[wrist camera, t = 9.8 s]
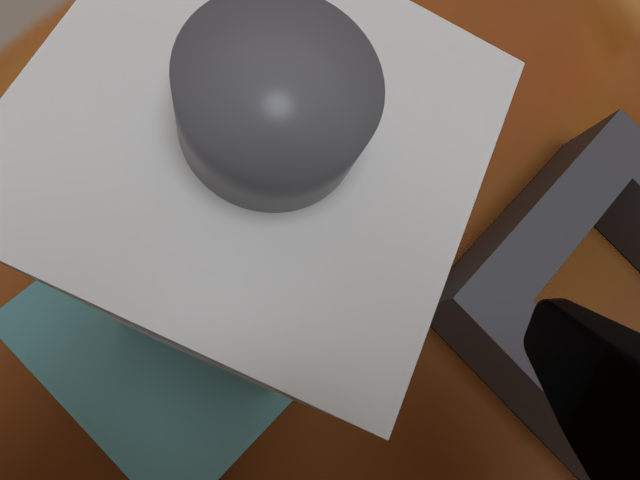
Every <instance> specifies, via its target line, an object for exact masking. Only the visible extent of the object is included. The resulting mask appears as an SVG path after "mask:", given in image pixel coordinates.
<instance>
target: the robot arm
mask: <svg viewBox="0 0 640 480" xmlns="http://www.w3.org/2000/svg"><path fill="white" fill-rule="evenodd" d="M523 343H524V349H525V352H526V355H527V357H528V359H529V361H530V363H531V365H532V368H533V370H534V372H535V374H536V376H537V378H538V380H539V383H540V385H541V387H542V389H543V391H544V393H545V396H546V398H547V400H548V402H549V404H550V406H551V408H552V411H553V413H554V415H555V417H556V419H557V421H558V423H559V425H560V427H561V429H562V431H563V433H564V435H565V437H566V439H567V441H568V442H569V444H570V446H571V448H572V449H573V451H574V453H575V455H576V456H577V458H578V460H579V461H580V463H581V465H582V467H583V468H584V470H585V472H586V473H587V475H588V477H589V479H590V480H640V333H639V332H637V331H634V330H632V329H630V328H628V327H626V326H624V325H621V324H619V323H617V322H615V321H613V320H611V319H608V318H606V317H604V316H602V315H600V314H598V313H595V312H593V311H591V310H589V309H587V308H585V307H582V306H580V305H578V304H576V303H574V302H572V301H570V300H567V299H563V298H554V299H543V300H541V301H539V302H538V303H537V304H536V306H535V308H534V310H533V313H532V316H531V319H530V321H529V324H528V327H527V329H526V332H525V335H524V340H523Z"/></svg>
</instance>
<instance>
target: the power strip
mask: <svg viewBox="0 0 640 480" xmlns="http://www.w3.org/2000/svg"><path fill="white" fill-rule="evenodd" d="M593 226H595V227H596V228H597V229H598V230H599V231H600V232H601V233H602V234H603V235H604V236H605V237H606V238H607V239H608V240H609V241H610V242H611V243H612V244H613V245H614V246H615V247H616V248H617V249H618V250H619V251H620V252H621V253H622V255H623V256H624V257H625V258H626V259H627V260H628V261H629V262H630V263H631V264H632V265H633V266H634V267H635V268H636V269H637V270H638V271H639V272H640V127H639V126H638V125H637V124H636V123H635V122H634V121H633V120H632V119H631V118H630V117H629V116H628V115H627V114H626V113H625V112H624V111H623V110H622V109H619V110H618V111H616V112H615V113H613V114H611V115H610V116H608V117H607V118H605V119H603V120H602V121H600V122H599V123H597V124H596V125H594V126H592V127H591V128H589V129H588V130H586V131H585V132H583V133H581V134H580V135H578V136H577V137H575V138H574V139H572V140H570V141H569V142H567V143H566V144H565V145H564V146H563V147H562V148H561V149H560V150H559V151H558V152H557V153H556V154H555V156H554V157H553V158H552V159H551V160H550V161H549V162H548V163H547V164H546V165H545V166H544V168H543V169H542V170H541V171H540V172H539V173H538V174H537V175H536V176H535V177H534V179H533V180H532V181H531V182H530V183H529V184H528V185H527V186H526V187H525V188H524V190H523V191H522V192H521V193H520V194H519V195H518V196H517V197H516V198H515V199H514V200H513V202H512V203H511V204H510V205H509V206H508V207H507V208H506V209H505V210H504V211H503V213H502V214H501V215H500V216H499V217H498V218H497V219H496V220H495V221H494V222H493V223H492V225H491V226H490V227H489V228H488V229H487V230H486V231H485V232H484V233H483V234H482V236H481V237H480V238H479V239H478V240H477V241H476V242H475V243H474V244H473V245H472V247H471V248H470V249H469V250H468V251H467V252H466V253H465V254H464V255H463V256H462V257H461V259H460V260H459V261H458V262H457V263H456V264H455V265H454V266H453V267H452V268H451V270H450V272H449V274H448V277H447V280H446V283H445V286H444V288H443V291H442V294H441V297H440V299H439V302H438V305H437V308H436V310H435V313H434V316H433V319H432V322H431V324H430V326H431V327H432V328H433V329H434V330H435V331H436V332H437V333H438V334H439V335H440V336H441V337H442V338H443V339H444V340H445V342H446V343H447V344H448V345H449V346H450V347H451V348H452V349H453V350H454V351H455V352H456V353H457V354H458V355H459V356H460V357H461V358H462V359H463V360H464V361H465V362H466V363H467V364H468V365H469V366H470V367H471V368H472V370H473V371H474V372H475V373H476V374H477V375H478V376H479V377H480V378H481V379H482V380H483V381H484V382H485V383H486V384H487V385H488V386H489V387H490V388H491V389H492V390H493V391H494V392H495V393H496V394H497V395H498V396H499V398H500V399H501V400H502V401H503V402H504V403H505V404H506V405H507V406H508V407H509V408H510V409H511V410H512V411H513V412H514V413H515V414H516V415H517V416H518V417H519V418H520V419H521V420H522V421H523V422H524V423H525V424H526V426H527V427H528V428H529V429H530V430H531V431H532V432H533V433H534V434H535V435H536V436H537V437H538V438H539V439H540V440H541V441H542V442H543V443H544V444H545V445H546V446H547V447H548V448H549V449H550V450H551V451H552V452H553V454H554V455H555V456H556V457H557V458H558V459H559V460H560V461H561V462H562V463H563V464H564V465H565V466H566V467H567V468H568V469H569V470H570V471H571V472H572V473H573V474H574V475H575V476H576V477H577V478H578V479H579V480H590V479H589V477H588V475H587V473H586V472H585V470H584V468H583V467H582V465H581V463H580V461H579V460H578V458H577V456H576V455H575V453H574V451H573V449H572V448H571V446H570V444H569V442H568V441H567V439H566V437H565V435H564V433H563V431H562V429H561V427H560V425H559V423H558V421H557V419H556V417H555V415H554V413H553V411H552V408H551V406H550V404H549V402H548V400H547V398H546V396H545V393H544V391H543V389H542V387H541V385H540V383H539V380H538V378H537V376H536V374H535V372H534V370H533V368H532V365H531V363H530V361H529V359H528V357H527V355H526V352H525V349H524V343H523V340H524V335H525V332H526V329H527V327H528V324H529V321H530V319H531V316H532V313H533V310H534V308H535V306H536V303H535V302H534V301H533V300H534V299H535V298H536V297H537V295H538V294H539V293H540V292H541V290H542V289H543V288H544V287H545V285H546V284H547V283H548V282H549V280H550V279H551V278H552V277H553V276H554V274H555V273H556V272H557V271H558V269H559V268H560V267H561V266H562V264H563V263H564V262H565V261H566V259H567V258H568V257H569V256H570V255H571V253H572V252H573V251H574V250H575V248H576V247H577V246H578V245H579V243H580V242H581V241H582V240H583V239H584V237H585V236H586V235H587V234H588V232H589V231H590V230H591V229H592V227H593Z"/></svg>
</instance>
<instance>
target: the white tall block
mask: <svg viewBox="0 0 640 480" xmlns="http://www.w3.org/2000/svg"><path fill="white" fill-rule="evenodd" d="M524 64H525V63H524V62H522V61H520V60H518V59H517V58H515V57H513V56H511V55H509V54H507V53H506V52H504V51H502V50H500V49H498V48H496V47H495V46H493V45H491V44H489V43H487V42H485V41H483V40H482V39H480V38H478V37H476V36H474V35H472V34H471V33H469V32H467V31H465V30H463V29H461V28H460V27H458V26H456V25H454V24H452V23H450V22H449V21H447V20H445V19H443V18H441V17H439V16H437V15H436V14H434V13H432V12H430V11H428V10H426V9H425V8H423V7H421V6H419V5H417V4H415V3H414V2H412V1H410V0H76V1H75V2H74V4H73V5H72V6H71V8H70V9H69V10H68V12H67V13H66V14H65V16H64V17H63V18H62V19H61V21H60V22H59V23H58V25H57V26H56V27H55V29H54V30H53V31H52V32H51V34H50V35H49V36H48V38H47V39H46V40H45V42H44V43H43V44H42V45H41V47H40V48H39V49H38V51H37V52H36V53H35V55H34V56H33V57H32V58H31V60H30V61H29V62H28V64H27V65H26V66H25V68H24V69H23V70H22V71H21V73H20V74H19V75H18V77H17V78H16V79H15V81H14V82H13V83H12V84H11V86H10V87H9V88H8V90H7V91H6V92H5V94H4V95H3V96H2V97H1V99H0V263H2V264H4V265H6V266H8V267H10V268H12V269H14V270H16V271H18V272H20V273H22V274H24V275H26V276H29V277H31V278H33V279H35V280H37V281H39V282H41V283H43V284H45V285H47V286H49V287H51V288H53V289H55V290H57V291H59V292H62V293H64V294H66V295H68V296H70V297H72V298H74V299H76V300H78V301H80V302H82V303H84V304H86V305H88V306H90V307H93V308H95V309H97V310H99V311H101V312H103V313H105V314H107V315H109V318H111V319H113V320H115V321H117V322H119V323H122V324H124V325H126V326H128V327H130V328H132V329H135V330H137V331H139V332H141V333H143V334H145V335H148V336H150V337H152V338H154V339H156V340H158V341H161V342H163V343H165V344H167V345H169V346H171V347H174V348H176V349H178V350H180V351H182V352H184V353H187V354H189V355H191V356H193V357H195V358H197V359H200V360H202V361H204V362H206V363H208V364H210V365H213V366H215V367H217V368H219V369H221V370H223V371H226V372H228V373H230V374H232V375H234V376H236V377H239V378H241V379H243V380H245V381H247V382H249V383H251V384H254V385H256V386H258V387H260V388H262V389H264V390H267V391H269V392H271V393H273V394H275V395H278V394H280V395H282V396H285V397H287V398H289V399H292V400H294V401H297V402H299V403H301V404H304V405H306V406H308V407H311V408H313V409H315V410H318V411H320V412H322V413H325V414H327V415H329V416H332V417H334V418H336V419H339V420H341V421H343V422H346V423H348V424H350V425H353V426H355V427H358V428H360V429H362V430H365V431H367V432H369V433H372V434H374V435H376V436H379V437H381V438H383V439H386V440H388V441H389V438H390V435H391V432H392V430H393V427H394V424H395V421H396V418H397V416H398V413H399V410H400V407H401V405H402V402H403V399H404V396H405V394H406V391H407V388H408V385H409V382H410V380H411V377H412V374H413V371H414V369H415V366H416V363H417V360H418V358H419V355H420V352H421V349H422V346H423V344H424V341H425V338H426V335H427V333H428V330H429V327H430V324H431V322H432V319H433V316H434V313H435V310H436V308H437V305H438V302H439V299H440V297H441V294H442V291H443V288H444V286H445V283H446V280H447V277H448V274H449V272H450V269H451V266H452V263H453V261H454V258H455V255H456V252H457V250H458V247H459V244H460V241H461V238H462V236H463V233H464V230H465V227H466V225H467V222H468V219H469V216H470V214H471V211H472V208H473V205H474V202H475V200H476V197H477V194H478V191H479V189H480V186H481V183H482V180H483V178H484V175H485V172H486V169H487V166H488V164H489V161H490V158H491V155H492V153H493V150H494V147H495V144H496V142H497V139H498V136H499V133H500V130H501V128H502V125H503V122H504V119H505V117H506V114H507V111H508V108H509V106H510V103H511V100H512V97H513V94H514V92H515V89H516V86H517V83H518V81H519V78H520V75H521V72H522V70H523V67H524Z"/></svg>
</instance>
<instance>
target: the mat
mask: <svg viewBox="0 0 640 480" xmlns="http://www.w3.org/2000/svg"><path fill="white" fill-rule="evenodd" d="M0 339H1V340H2V341H3V342H4V343H5V344H6V345H7V347H8V348H9V349H10V350H11V351H12V352H13V353H14V354H15V355H16V356H17V357H18V359H19V360H20V361H21V362H22V363H23V364H24V365H25V366H26V367H27V368H28V369H29V371H30V372H31V373H32V374H33V375H34V376H35V377H36V378H37V379H38V380H39V381H40V383H41V384H42V385H43V386H44V387H45V388H46V389H47V390H48V391H49V392H50V393H51V394H52V396H53V397H54V398H55V399H56V400H57V401H58V402H59V403H60V404H61V405H62V406H63V408H64V409H65V410H66V411H67V412H68V413H69V414H70V415H71V416H72V417H73V418H74V420H75V421H76V422H77V423H78V424H79V425H80V426H81V427H82V428H83V429H84V430H85V431H86V433H87V434H88V435H89V436H90V437H91V438H92V439H93V440H94V441H95V442H96V443H97V445H98V446H99V447H100V448H101V449H102V450H103V451H104V452H105V453H106V454H107V455H108V457H109V458H110V459H111V460H112V461H113V462H114V463H115V464H116V465H117V466H118V467H119V468H120V470H121V471H122V472H123V473H124V474H125V475H126V476H127V477H128V478H129V479H130V480H218V479H219V478H220V477H221V476H222V475H223V474H224V473H225V472H226V471H227V470H228V469H229V468H230V466H231V465H232V464H233V463H234V462H235V461H236V460H237V459H238V458H239V457H240V456H241V455H242V454H243V453H244V452H245V451H246V450H247V448H248V447H249V446H250V445H251V444H252V443H253V442H254V441H255V440H256V439H257V438H258V437H259V436H260V435H261V434H262V433H263V432H264V430H265V429H266V428H267V427H268V426H269V425H270V424H271V423H272V422H273V421H274V420H275V419H276V418H277V417H278V416H279V415H280V414H281V412H282V411H283V410H284V409H285V408H286V407H287V406H288V405H289V404H290V403H291V402H292V401H293V400H292V399H289V398H287V397H285V396H282V395H280V394H278V395H275V394H273V393H271V392H269V391H267V390H264V389H262V388H260V387H258V386H256V385H254V384H251V383H249V382H247V381H245V380H243V379H241V378H239V377H236V376H234V375H232V374H230V373H228V372H226V371H223V370H221V369H219V368H217V367H215V366H213V365H210V364H208V363H206V362H204V361H202V360H200V359H197V358H195V357H193V356H191V355H189V354H187V353H184V352H182V351H180V350H178V349H176V348H174V347H171V346H169V345H167V344H165V343H163V342H161V341H158V340H156V339H154V338H152V337H150V336H148V335H145V334H143V333H141V332H139V331H137V330H135V329H132V328H130V327H128V326H126V325H124V324H122V323H119V322H117V321H115V320H113V319H111V318H109V315H107V314H105V313H103V312H101V311H99V310H97V309H95V308H93V307H90V306H88V305H86V304H84V303H82V302H80V301H78V300H76V299H74V298H72V297H70V296H68V295H66V294H64V293H62V292H59V291H57V290H55V289H53V288H51V287H49V286H47V285H45V284H43V283H41V282H39V281H37V280H36V281H35V282H34V283H32V284H31V285H30V286H28V287H27V288H26V289H25V290H23V291H22V292H21V293H19V294H18V295H17V296H16V297H14V298H13V299H12V300H10V301H9V302H8V303H6V304H5V305H4V306H3V307H1V308H0Z"/></svg>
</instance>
